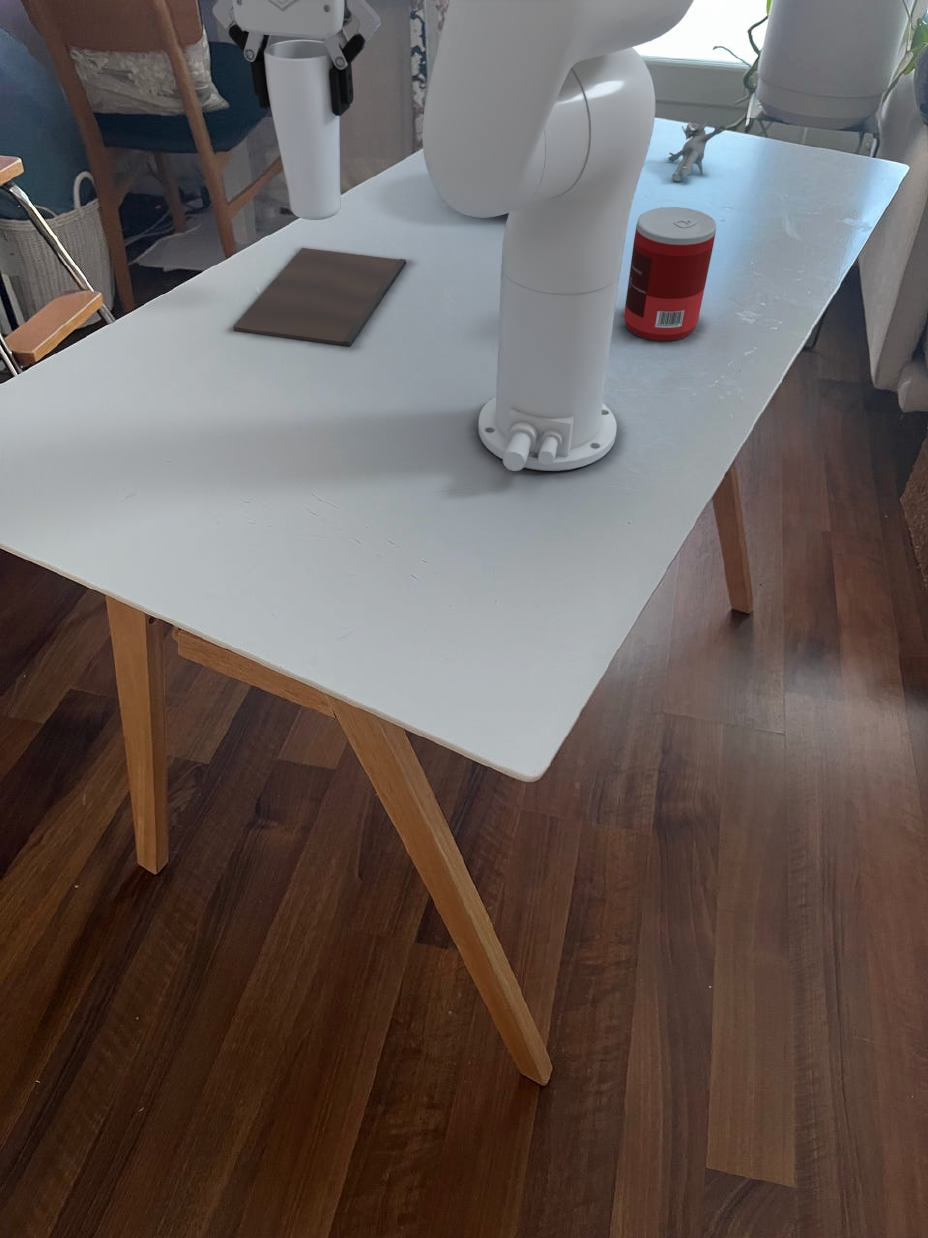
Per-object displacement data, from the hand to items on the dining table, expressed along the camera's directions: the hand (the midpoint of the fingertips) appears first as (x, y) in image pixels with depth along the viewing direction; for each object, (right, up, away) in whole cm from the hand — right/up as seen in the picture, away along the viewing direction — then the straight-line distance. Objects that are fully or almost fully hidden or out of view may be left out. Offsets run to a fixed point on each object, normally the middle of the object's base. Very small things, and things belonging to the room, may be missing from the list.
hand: (305, 106), depth 90 cm
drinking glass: (0, -7, +7) cm, 10 cm away
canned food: (+36, -18, +10) cm, 42 cm away
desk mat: (0, -14, +14) cm, 19 cm away
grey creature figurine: (+48, +13, +40) cm, 64 cm away
